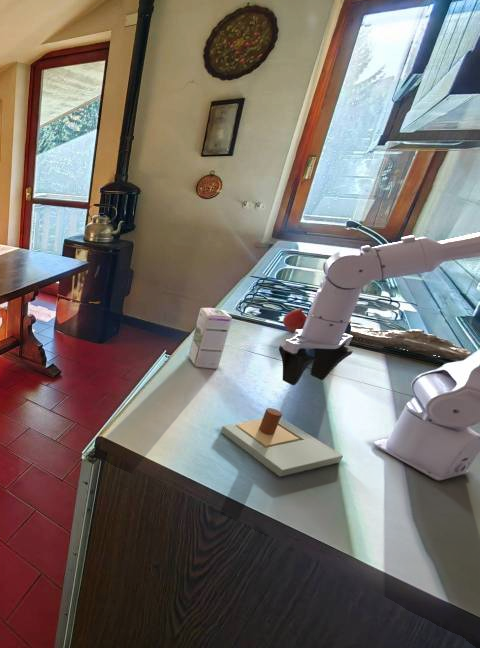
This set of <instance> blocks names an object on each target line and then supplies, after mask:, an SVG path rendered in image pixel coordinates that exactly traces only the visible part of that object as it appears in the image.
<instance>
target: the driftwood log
mask: <svg viewBox="0 0 480 648" xmlns="http://www.w3.org/2000/svg"><path fill="white" fill-rule="evenodd" d="M351 328H352V329H351V332H350V334H349V335H351V336H353V337H352V339H351V340H354V341H357V342H359V343H360V342H361V343H365V344H368V345H373V346H378V347H379V346H381V347H386V348H392V349H396V350H399V351H401V352H405V353H409V354H418V355H423V356H425V357H428V358H432V359H444V360H451V361H463V360H465V359H466V358H467V357H469V356H470V355H472V354H473V353H472V352H471V351H470V350H469V349H466V348H464V347H462V346H459V345H456V344H454V343H453V342H450V341H449V340H448V339H444V338H442V337H438V336H437V335H436V334H429V333H427V332H425V330H424V329H416V328H415V329H408V330H407V329H406V330H398V329H390V330H388V329H376V328H373V327H369V326H364V325H358V324H352V323H351ZM356 338H358V339H356ZM360 339H361V340H360ZM364 340H365V341H364ZM395 347H396V348H395ZM400 348H402V349H400ZM403 349H405V350H403ZM407 350H408V351H407ZM433 355H436V356H433ZM438 356H440V357H438Z"/></svg>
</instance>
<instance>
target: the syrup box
mask: <svg viewBox="0 0 480 648" xmlns="http://www.w3.org/2000/svg"><path fill="white" fill-rule="evenodd" d="M198 313H199V314H198V317H197V321H196V323H195V328H194V333H193V336H192V340H191V344H190V347H189V348H190V349H189V352H188V356H187V357H188V358H189V360H190V362H191V363H192V364H193V365H194V367H196V368H204V369H214V370H218V369H219V366H220V362H221V359H222V356H223V352H224V349H225V346H226V342H227V337H228V334H229V332H230V331H229V330H230V327H231V323H232V320H233V316H231V315H230V314H229V313H228V312H227V311H226V310H225V309H222V308H216V307H200V309H199V312H198Z"/></svg>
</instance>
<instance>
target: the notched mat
mask: <svg viewBox="0 0 480 648" xmlns="http://www.w3.org/2000/svg"><path fill="white" fill-rule="evenodd" d="M278 426H280V427H282V428H283V429H285V430H286V431H288V432H289V433H291V434H292V435H294V436H296V437H297V438H299V440H298V441H295V442H291V443H286V444H281V445H277V446H272V447H267V448H265V447H264V446H262V445H261V444H259V443H258V442H257V441H255V440H254V439H252V438H251V437H250V436H248V435H247V434H245V433H244V432H243V431H241V430H240V429H238V428H237V427H236V426H235V424H233V423H230V424H226V425H222V426H221V429H220V433H222V434H223V435H224V436H225V437H227V438H228V439H229V440H231V441H232V442H233V443H235V444H236V445H237V446H239V447H240V448H241V449H242V450H244V451H245V452H247V453H248V454H249V455H250V456H252V457H253V458H254V459H256V460H257V461H258V462H259V463H261V464H262V465H263V466H265V467H266V468H268V469H269V470H270V471H271V472H273V474H276V475H277V476H278V477H280V478H281V477H285V476H289V475H293V474H296V473H297V474H298V473H301V472H305V471H309V470H313V469H318V468H321V467H322V468H323V467H327V466H329V465H335V464H338V463H341V461H342V459H343V457H344V455H343V454H341V453H340V452H338V451H336V450H335V449H333V448H332V447H330V446H328V445H326V444H325V443H323V442H322V441H320V440H318V439H317V438H315V437H314V436H312V435H310V434H308V433H307V432H305V431H304V430H303V429H301V428H299V427H297V426H296V425H294V424H293V423H291V422H290V421H288V420H286V419H285V418H283V417H281V418H280V421H279V423H278Z"/></svg>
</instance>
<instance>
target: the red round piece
mask: <svg viewBox="0 0 480 648" xmlns="http://www.w3.org/2000/svg"><path fill="white" fill-rule="evenodd" d="M307 316H308V315H306V314H305V312H304V311H303V308H301V307H300V308H299V307H298V308H297V309H294V310H292V311H290V312H288V313H286V314H285V316H284V317H283V320H282V323H283V326H284V327H285V328H286V329H287V330H288V331H289V333H295V331H296V330H303V327H304V324H305V322H306V319H307Z"/></svg>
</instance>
